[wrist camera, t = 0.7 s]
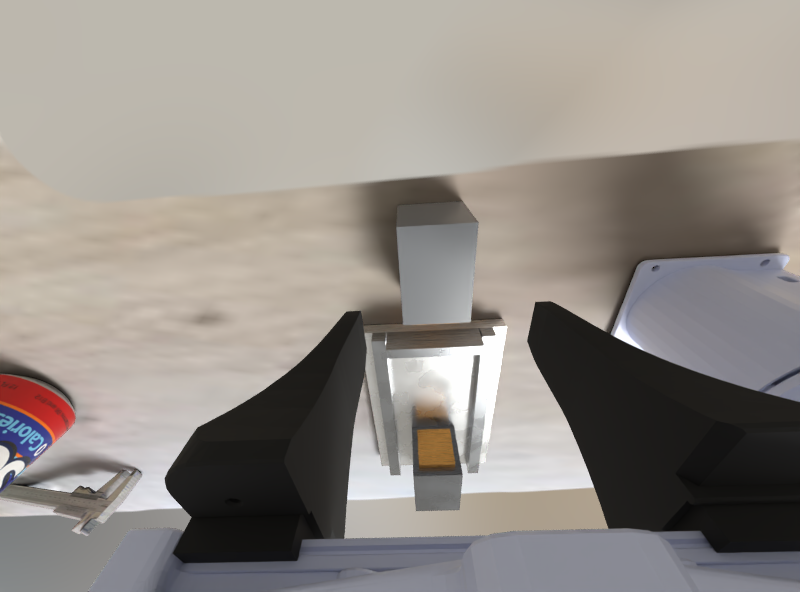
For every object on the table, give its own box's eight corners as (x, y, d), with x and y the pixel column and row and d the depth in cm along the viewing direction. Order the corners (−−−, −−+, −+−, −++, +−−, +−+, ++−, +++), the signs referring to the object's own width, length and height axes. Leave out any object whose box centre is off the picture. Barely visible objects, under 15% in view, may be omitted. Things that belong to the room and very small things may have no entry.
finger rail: (502, 318, 22) (529, 371, 18) (482, 453, 32) (497, 511, 27) (360, 325, 23) (350, 378, 18) (382, 456, 32) (379, 514, 27)
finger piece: (462, 200, 18) (478, 222, 14) (457, 291, 21) (470, 328, 17) (397, 204, 18) (396, 227, 14) (403, 294, 21) (403, 331, 18)
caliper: (140, 465, 34) (91, 530, 28) (146, 470, 34) (99, 535, 29) (-3, 484, 36) (-74, 547, 31) (5, 488, 37) (-64, 551, 31)
